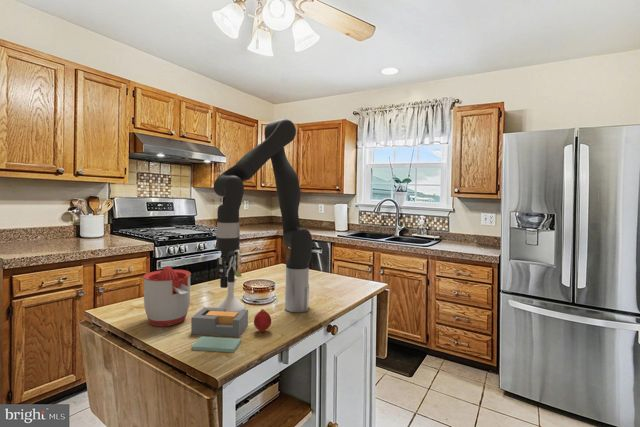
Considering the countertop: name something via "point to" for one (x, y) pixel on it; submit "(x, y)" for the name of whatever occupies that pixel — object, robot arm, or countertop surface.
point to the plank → (223, 316)
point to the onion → (262, 320)
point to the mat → (216, 344)
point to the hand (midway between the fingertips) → (227, 284)
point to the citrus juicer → (166, 296)
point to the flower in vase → (232, 296)
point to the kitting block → (212, 327)
